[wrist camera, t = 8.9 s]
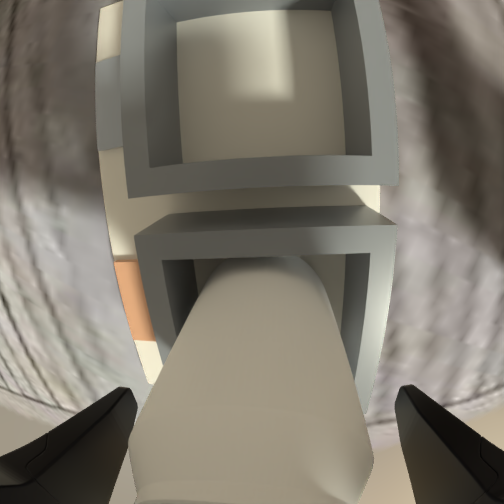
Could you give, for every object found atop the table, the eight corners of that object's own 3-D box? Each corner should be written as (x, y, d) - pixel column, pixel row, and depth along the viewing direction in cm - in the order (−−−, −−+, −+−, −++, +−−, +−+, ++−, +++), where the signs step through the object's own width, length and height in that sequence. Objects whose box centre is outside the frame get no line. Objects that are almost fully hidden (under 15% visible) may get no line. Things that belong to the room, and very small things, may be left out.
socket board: (351, -16, 10) (373, -64, 6) (356, 374, 18) (372, 430, 13) (108, 14, 12) (62, -16, 7) (153, 374, 19) (127, 424, 14)
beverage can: (200, 336, 17) (126, 533, 5) (213, 231, 15) (68, 437, 3) (307, 354, 16) (325, 560, 5) (338, 254, 14) (446, 480, 3)
